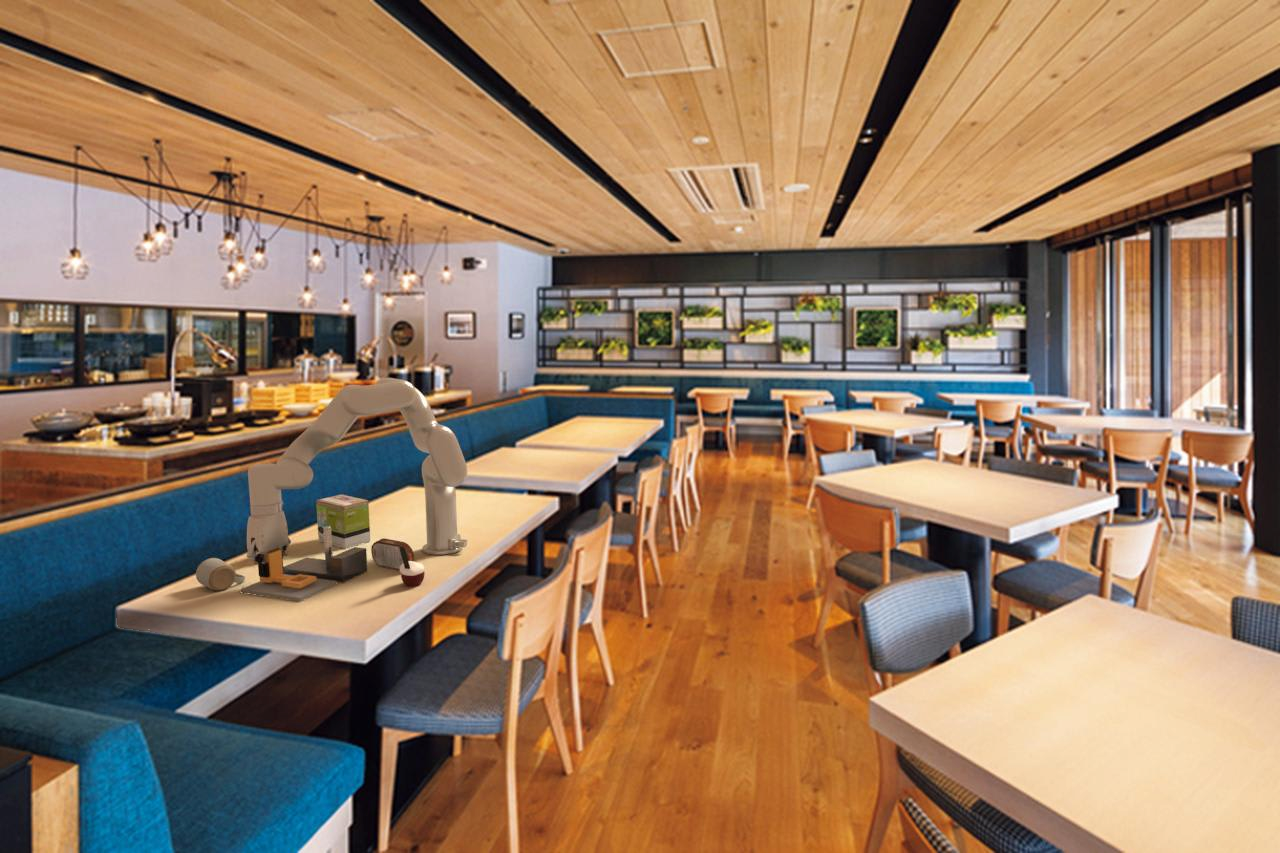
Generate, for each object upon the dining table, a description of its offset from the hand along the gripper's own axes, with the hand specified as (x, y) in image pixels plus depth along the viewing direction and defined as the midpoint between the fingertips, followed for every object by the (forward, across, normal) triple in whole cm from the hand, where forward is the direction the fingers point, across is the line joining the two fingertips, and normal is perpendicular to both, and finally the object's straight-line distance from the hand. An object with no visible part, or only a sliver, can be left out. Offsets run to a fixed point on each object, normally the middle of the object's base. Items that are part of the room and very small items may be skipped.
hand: (271, 573), depth 187 cm
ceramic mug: (+4, +4, -13) cm, 14 cm away
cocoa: (+4, -13, +36) cm, 38 cm away
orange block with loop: (+2, 0, +5) cm, 6 cm away
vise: (+4, -13, +6) cm, 15 cm away
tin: (+4, -23, +22) cm, 32 cm away
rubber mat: (+4, 0, +6) cm, 7 cm away
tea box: (+4, -40, -10) cm, 41 cm away
